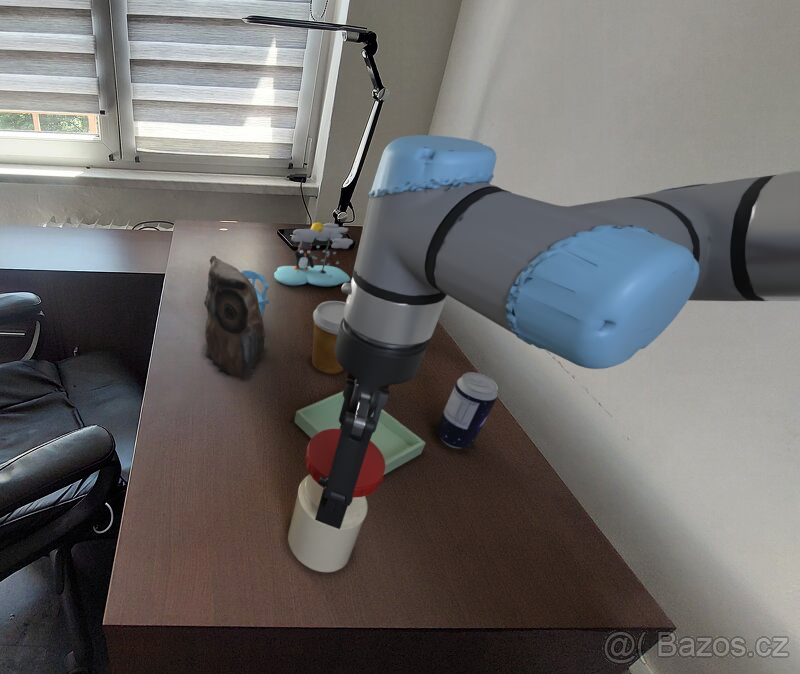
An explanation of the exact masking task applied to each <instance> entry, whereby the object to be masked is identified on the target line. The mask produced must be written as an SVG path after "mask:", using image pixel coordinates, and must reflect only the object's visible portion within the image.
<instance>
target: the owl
mask: <svg viewBox="0 0 800 674" xmlns="http://www.w3.org/2000/svg"><path fill="white" fill-rule="evenodd" d="M209 264H210V267H209V270H208V273H207V274H208V279H207V280H208V281H207V291H206V296H205V298H204V299H205V300H204V306H205V308H206V314H207V319H206V322H205V331H204V333H205V334H204V337H205V342H206V349H205V358H207V359H209V360H211V361H212V362H211V365H213V366H216V368H217V369H218V372H220V373H223V374H224V375H226V376H231V377H235V378H238V379H241V380H242V381H244V380H247V379H248V378H250V376H251V374H252V371H253V370H255V369H256V365H257V363H258V361H260V360H261V359H262V356H263V353H264V351H265V348H264V347H265V344H266V334H265V327H264V320H263V319H262V315H261V312H260V308H259V304H258V298H257V294H256V291H255V288H256V287H255V288H254V287H253V285H252V284H251V283H252V281H250V279H248V278H247V277H246V276H245V275H244V274H243V273H241V272H242V271H240V270H239V269H238V268H236V267H235V266H233V265H231V264H230V263H228V262H225V261H223V260H222V259H220V258H218V257H217V256H216V255H211V257H210V259H209Z"/></svg>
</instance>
